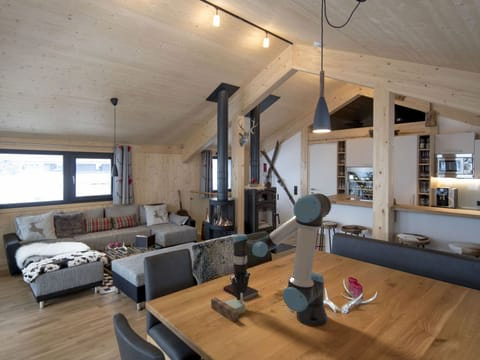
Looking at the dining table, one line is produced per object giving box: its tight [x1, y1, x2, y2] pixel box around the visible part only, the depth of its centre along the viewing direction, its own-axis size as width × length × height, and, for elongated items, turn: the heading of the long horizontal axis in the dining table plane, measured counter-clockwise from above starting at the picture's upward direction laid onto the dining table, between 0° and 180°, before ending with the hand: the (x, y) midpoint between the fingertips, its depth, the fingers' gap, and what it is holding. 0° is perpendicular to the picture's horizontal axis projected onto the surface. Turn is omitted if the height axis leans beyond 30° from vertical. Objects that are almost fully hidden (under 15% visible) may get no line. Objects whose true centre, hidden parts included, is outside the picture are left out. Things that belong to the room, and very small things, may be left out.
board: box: [210, 297, 240, 323], centre depth 154 cm, size 20×3×5 cm, turn 40°
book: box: [222, 283, 259, 302], centre depth 181 cm, size 12×19×3 cm, turn 40°
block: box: [223, 298, 246, 315], centre depth 158 cm, size 10×8×4 cm
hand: (240, 305), depth 161 cm, fingers closed
